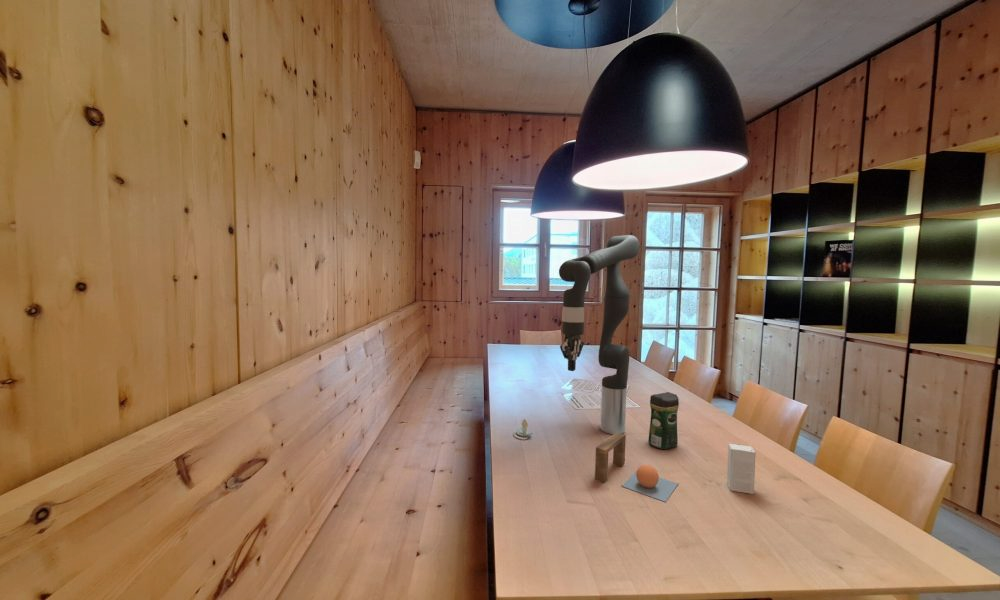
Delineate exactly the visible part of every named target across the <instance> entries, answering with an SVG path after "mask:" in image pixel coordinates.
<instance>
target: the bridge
mask: <svg viewBox="0 0 1000 600" xmlns="http://www.w3.org/2000/svg"><path fill="white" fill-rule="evenodd" d="M626 436H627V434H625V433H618V432H616V433H615V434H611V436H610V437H608V438H607V439H605V440H603V442H601V443H599V444H598V445H596V446H595V462H594V463H595V466H594V467H595V468H594V481H597V482H601V483H603V484H605V483H606V482H607V481H608V476H609V475H608V472H609V452H610V451H613V453H612V454H613V455H612V464H613V465H616V466H618V465H619V467H624V466H625V465H626V463H625V461H626V438H627V437H626ZM624 464H625V465H624Z"/></svg>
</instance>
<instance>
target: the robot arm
mask: <svg viewBox="0 0 1000 600" xmlns="http://www.w3.org/2000/svg"><path fill="white" fill-rule="evenodd" d="M640 247H641V246H640V242H639V240H638V238H637V237H636V236H634V235H633V234H632V235H631V234H626V235H615V236H611V237H610V238H609V239H608V240H607V243H606V247H605V248H601V249H597V250H595V251H594V250H593V251H592V252H589V253H587V254H585V255H583V256H580V257H576V258H572V259H568V260H565V261H564V262H563V263H561V265H560V266H559V268H558V275H559V278H561V280H562V281H564V282H567V283H568V282H569V283H573V285H572V287H571V288H569V289H566V290H564V292H563V295H562V296H563V298H562V302H563V303H562V306H563V307H562V313H561V334H563V335H564V341H563V342H564V343H563V344H560V345H559V349H560V351H561V353H562V355H563V357H564V359H566V360H567V370H568V371H570V372H574V371H576V363H577V362H576V360H578V358H579V357H580V356H581V353H582V351H583V347H584V345H585V342H584V341H581V336H583V335H584V333H585V295H586V292H587V289H588V286H589V285H588V284H589V282H590V278H591V275H593V274H595V273H598V272H599V271H601V270H603V269H605V268H606V277H605V278H606V280H605V291H604V293H605V294H604V302H603V316H602V317H603V319H602V320H603V321H602V329H601V336H600V341H599V342H600V343H599V347H598V364H599V366H600V367H602V368H607V369H612V370H616V372H615V374H611V375H606V376H604V377H602V379H601V398H600V399H601V402H600V427H599V429H600V430H601V431H602V432H603V433H606V434H610V435H613V434H615V433H616V432H618V433H622V434H625V432H626V418H627V417H626V415H627V414H626V413H627V394H628V393H627V390H628V388H627V387H628V379H629V367H630V349H629V348H628V347H627V345H620V344H612V342H613V341H612V340H613V337H614V334H615V332H616V330H617V328H618V327H619V325H620V324H621V323H622V322H623V320H625V319H626V316H627V315H628V312H629V309H630V298H631V297H630V296H631V295H630V291H629V289H628V287H627V285H626V282H625V281H624V278H623V276H622V273H621V266H620V265H621V262H622V261H627V260H632V259H634V258H636V257H637V256H638V254H639V252H640Z"/></svg>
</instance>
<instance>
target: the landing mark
mask: <svg viewBox="0 0 1000 600" xmlns="http://www.w3.org/2000/svg"><path fill="white" fill-rule="evenodd" d="M636 472H637V470H635V472H633V474H632V475H631V476H630V477H629V478H628V479H627V480H626V481H625V482H624V483H623V484H621V488H624V489H627V490H630V491H632V492H635V491H636V492H637V493H639V494H641V495H644V496H646V497H650V498H653V499H654V500H655V499H656V500H658V501H661V502H663V503H666V502H667V501H668V500H669V498H671V495H672V494H673V493H674V491H675V490H676V489H677V487H678V486H679V483H677V482H674V481H672V480H669V479H666V478H662V477H659V480H658V483H657V484H656V485H655V486H654V487H652V488H646V487H644V486H642V485H641V484H640V483H639V482H638V480H637V477H636ZM677 485H678V486H677Z"/></svg>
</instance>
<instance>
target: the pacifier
mask: <svg viewBox="0 0 1000 600" xmlns="http://www.w3.org/2000/svg"><path fill="white" fill-rule="evenodd" d="M528 427H529V421H528V420H527V418H526V419H523V420H522V422H521V426H517V427H515V432H514V433H513V436H514V437H515V438H516V439H519V440H521V441H522V440H527V439H528V438H529V436H531V435H534V433H533V432H528ZM516 434H517V435H516Z"/></svg>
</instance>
